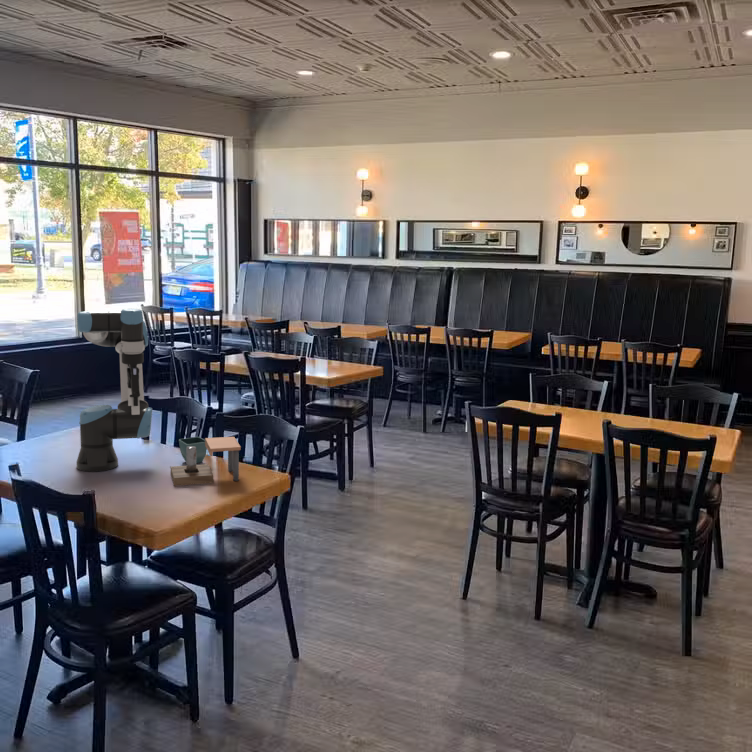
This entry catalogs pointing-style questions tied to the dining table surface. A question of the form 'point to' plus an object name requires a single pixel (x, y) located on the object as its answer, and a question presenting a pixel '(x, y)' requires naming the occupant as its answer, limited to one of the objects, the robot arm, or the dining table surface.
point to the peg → (191, 459)
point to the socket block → (191, 475)
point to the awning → (226, 445)
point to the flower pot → (196, 442)
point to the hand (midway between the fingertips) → (133, 410)
